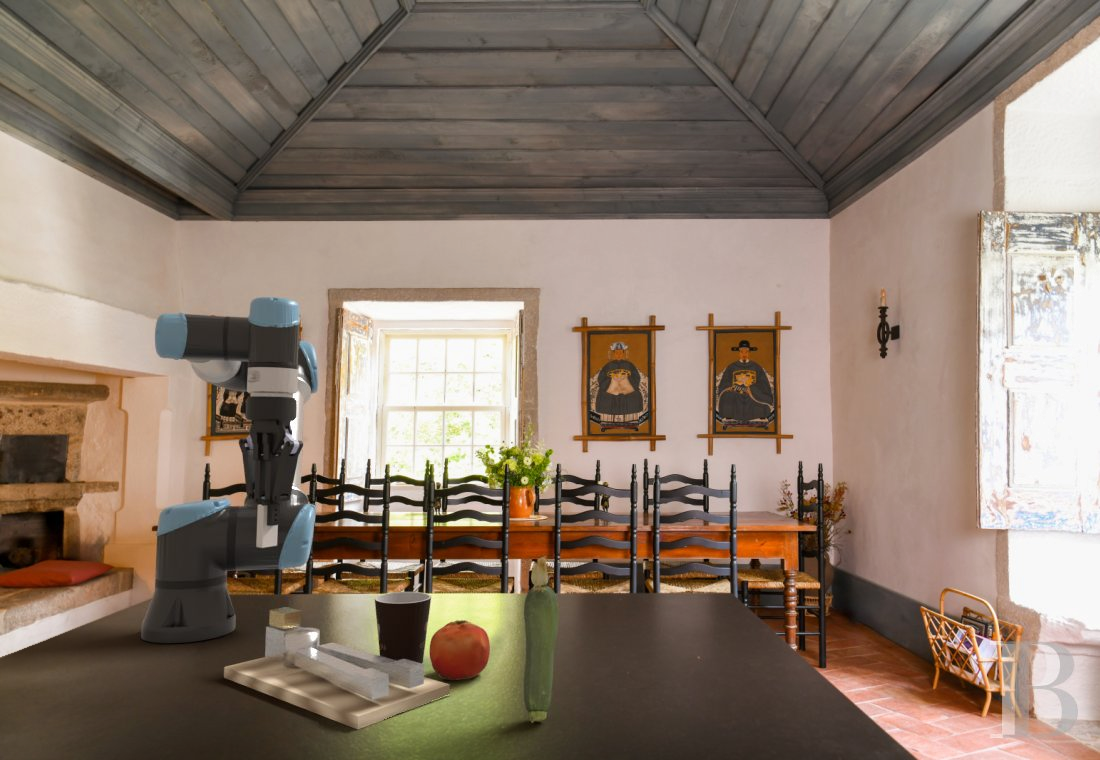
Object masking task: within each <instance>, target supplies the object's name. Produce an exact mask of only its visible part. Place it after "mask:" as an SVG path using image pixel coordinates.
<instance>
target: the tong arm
mask: <svg viewBox="0 0 1100 760" xmlns="http://www.w3.org/2000/svg"><path fill="white" fill-rule="evenodd" d="M295 666H297V667H299V668H302V669H304V670H306V671H308V672H311V673H313V674H315V675H317V676H320V677H322V678H324V679H326V680H328V681H331V682H333V683H335V684H337V685H340V686H342V687H344V688H346V689H349V690H351V691H353V692H355V693H357V694H360V695H362V696H364V697H366V698H369V699H371V700H373V699H377V698H380V697H384V696H387V695H388V693H389V674H386V673H384V672H381V671H378V670H376V669H373V668H368V669H363V668H361V667H358V666H356V665H353V664H351V663H348V662H346V661H343V660H341V659H338V658H336V657H333V656H331V655H328V654H326V653H323V652H321V651H318V650H316V649H313V648H306V649H301V650H296V651H295Z"/></svg>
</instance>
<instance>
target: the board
mask: <svg viewBox="0 0 1100 760" xmlns="http://www.w3.org/2000/svg"><path fill="white" fill-rule="evenodd" d="M223 678H224V679H226V680H228V681H229V680H230V681H232V682H234V683H237V684H239V685H243V686H245V687H247V688H250V689H252V690H254V691H258V692H260V693H263V694H266V695H268V696H271V697H273V698H276V699H278V700H281V701H283V702H286V703H288V704H291V705H293V706H296V707H299V708H302V709H305V710H306V711H309V712H311V713H314V714H317V715H320V716H322V717H325V718H326V719H329V720H333V721H335V722H338V723H340V724H343V725H345V726H348V727H350V728H353V729H356V730H360V729H362V728H365V727H368V726H372V725H374V724H377V723H379V722H383V721H385V720H388V719H390V718H389V717H391V718H393V717H394V716H393V715H396V714H398V713H401V712H403V711H406V710H409V709H412V708H415V707H417V706H420V705H422V704H425V703H428V702H431V701H432V700H435V699H438V698H440V697H443V696H445V695H448V694H450V687H451V685H450V684H449V683H445V682H443V681H439V680H436V679H432V678H430V677H429V678H428V677H427V676H424V684H422V685H419V686H416V687H413V688H410V689H409V688H406V687H403V686H400V685H396V684H393V683H390V682H389V693H388V695H387V696H384V697H380V698H377V699H373V700H371V699H369V698H366V697H364V696H362V695H360V694H357V693H355V692H353V691H351V690H349V689H346V688H344V687H342V686H340V685H337V684H335V683H333V682H331V681H328V680H326V679H324V678H322V677H320V676H317V675H315V674H313V673H311V672H308V671H306V670H304V669H302V668H287V667H284V666H283V663H282V662H279V661H276V660H273V659H270V658H267V657H265V656H263V657H261V658H255V659H251V660H246V661H243V662H240V663H235V664H232V665H227V666H224V667H223ZM415 709H416V708H415ZM392 716H393V717H392ZM396 716H397V715H396ZM387 718H388V719H387ZM384 719H385V720H384Z"/></svg>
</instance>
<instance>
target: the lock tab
mask: <svg viewBox="0 0 1100 760" xmlns="http://www.w3.org/2000/svg"><path fill="white" fill-rule="evenodd" d="M301 621H302V610H300V609H298V608H297V609H296V608H292V607H288V606H283V607H279V608H273V609H269V623H268V626H271V625H272V626H275V627H279V628H282V629H286V628H291V627H296V626H299V627H301V624H302V622H301Z"/></svg>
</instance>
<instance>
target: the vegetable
mask: <svg viewBox="0 0 1100 760" xmlns="http://www.w3.org/2000/svg"><path fill="white" fill-rule="evenodd" d="M547 561H548V559H547V556H545V555H544V556H542V557H540V558H538V562H537V563H536V564H535V565H534V567H533V569H532V571H531V575H530V578H531V583H532V584H533V587H532V588H530V589H529V590H528V591H527V594H526V596H525V600H524V606H523V617H524V618H523V619H524V628H525V630H524V631H525V665H524V672H523V673H524V674H523V701H524V706H525V708H526V711H527V712H528V716H529V717H528V718H529V720H530V722H531V724H533V723H535V722H541V721H543V720H546V719H547V714H548V712H547V711H548V709H549V707H550V704H551V702H552V700H551V699H552V689H553V688H552V687H553V680H554V659H555V658H554V657H555V644H556V639H557V634H558V630H559V617H560V616H559V615H560V611H559V602H558V598H557V595H556V594H557V593H555V591H554V589H552V588H551V587H550V586H548V585H547V584H548V582H549V575H548V570H549V569H548V567H547V565H548V563H547Z"/></svg>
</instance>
